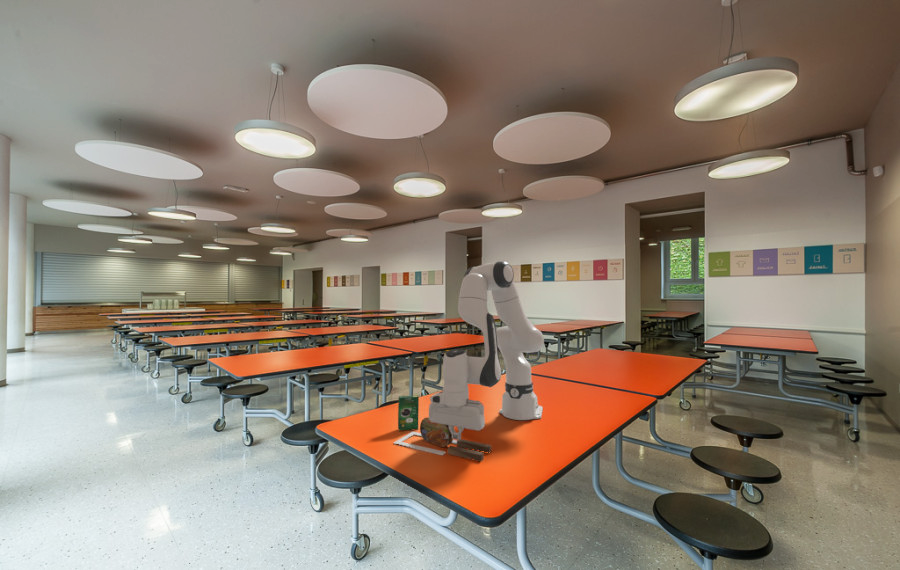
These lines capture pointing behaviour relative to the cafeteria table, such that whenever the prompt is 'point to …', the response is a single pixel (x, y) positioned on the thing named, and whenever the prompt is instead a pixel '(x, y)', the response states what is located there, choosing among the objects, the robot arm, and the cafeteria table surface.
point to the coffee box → (408, 412)
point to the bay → (419, 446)
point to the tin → (435, 433)
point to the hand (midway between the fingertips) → (456, 438)
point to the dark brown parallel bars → (469, 453)
